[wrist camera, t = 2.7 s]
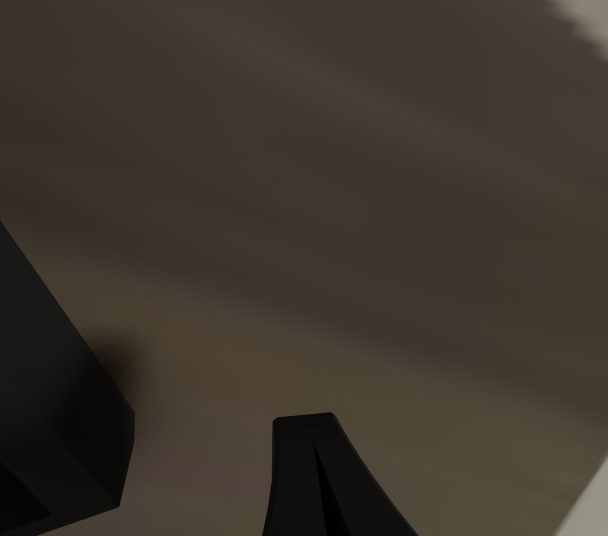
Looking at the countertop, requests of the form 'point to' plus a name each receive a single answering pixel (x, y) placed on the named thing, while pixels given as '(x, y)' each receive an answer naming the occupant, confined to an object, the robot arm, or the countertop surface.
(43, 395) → the battery charger
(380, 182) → the countertop surface
